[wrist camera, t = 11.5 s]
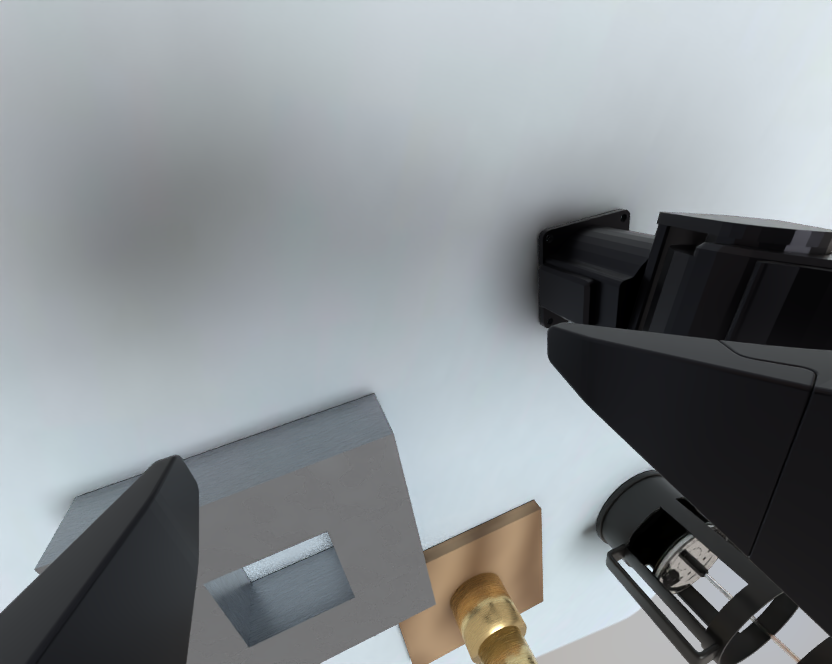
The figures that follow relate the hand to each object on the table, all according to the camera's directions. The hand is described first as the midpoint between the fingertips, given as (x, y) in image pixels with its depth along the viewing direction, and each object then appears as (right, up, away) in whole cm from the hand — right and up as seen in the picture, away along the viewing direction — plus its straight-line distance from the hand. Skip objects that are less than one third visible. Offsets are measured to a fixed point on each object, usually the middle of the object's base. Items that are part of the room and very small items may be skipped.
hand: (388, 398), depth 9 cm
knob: (+6, -22, +25) cm, 33 cm away
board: (+6, -21, +25) cm, 34 cm away
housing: (-8, -12, +16) cm, 21 cm away
